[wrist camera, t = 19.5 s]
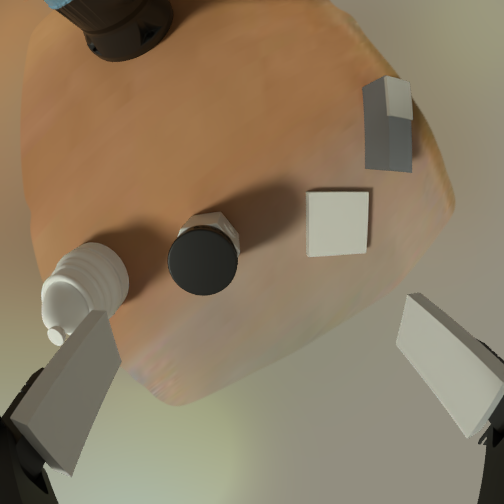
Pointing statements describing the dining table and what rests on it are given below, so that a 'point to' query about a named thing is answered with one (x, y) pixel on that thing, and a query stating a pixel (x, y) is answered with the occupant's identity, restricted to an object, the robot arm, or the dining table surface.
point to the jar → (204, 254)
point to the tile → (336, 222)
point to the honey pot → (82, 288)
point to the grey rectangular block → (388, 124)
